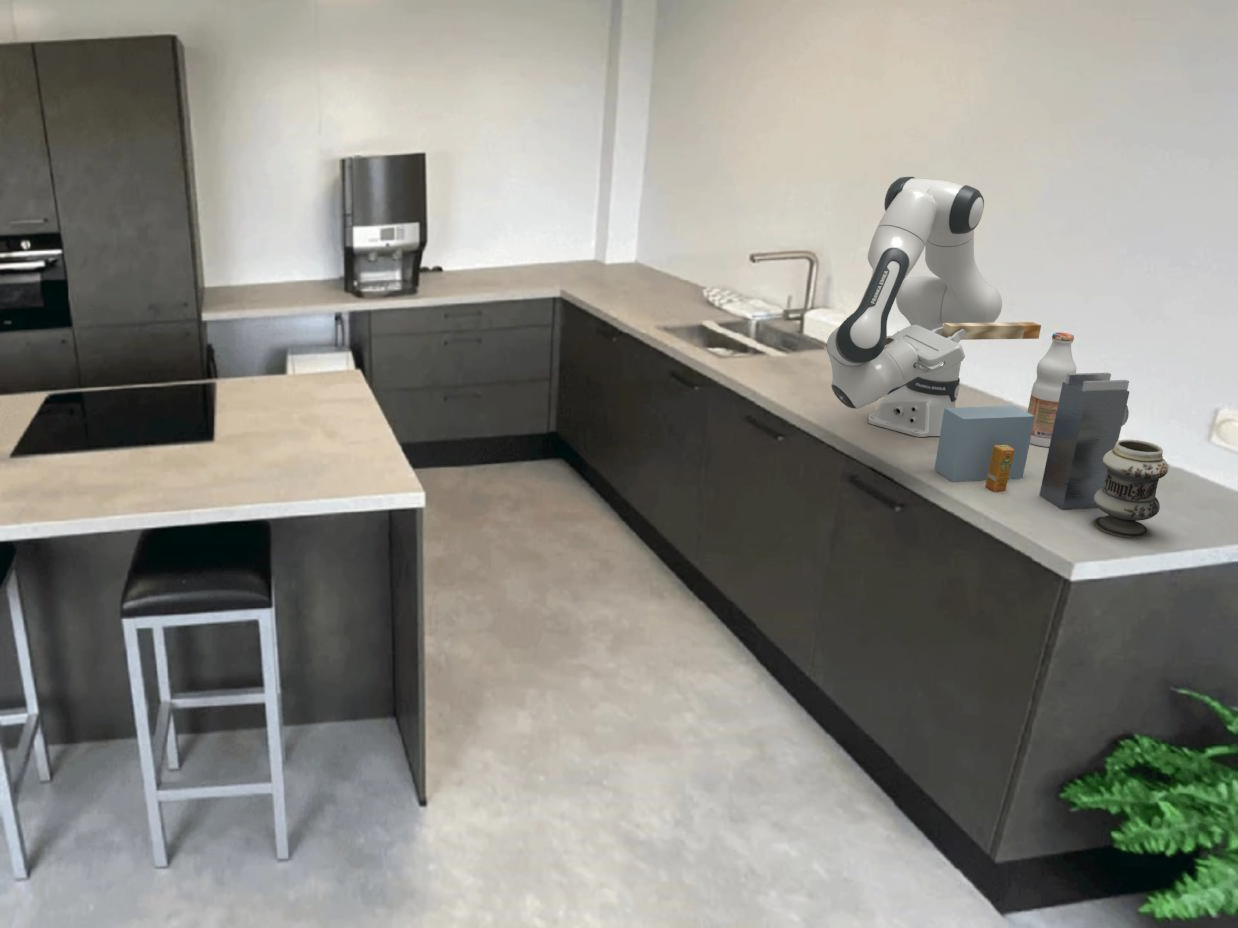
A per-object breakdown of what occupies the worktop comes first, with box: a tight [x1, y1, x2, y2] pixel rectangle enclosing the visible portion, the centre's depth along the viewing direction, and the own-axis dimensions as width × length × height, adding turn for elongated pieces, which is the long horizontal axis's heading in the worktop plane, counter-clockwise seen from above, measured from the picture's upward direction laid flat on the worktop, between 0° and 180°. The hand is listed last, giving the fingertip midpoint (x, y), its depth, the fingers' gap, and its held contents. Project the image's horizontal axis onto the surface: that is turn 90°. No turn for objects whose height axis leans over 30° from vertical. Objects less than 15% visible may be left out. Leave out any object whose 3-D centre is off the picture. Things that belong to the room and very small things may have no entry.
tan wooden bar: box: [942, 321, 1042, 341], centre depth 216 cm, size 22×3×3 cm, turn 103°
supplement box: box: [985, 445, 1015, 492], centre depth 219 cm, size 3×3×10 cm
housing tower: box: [1039, 372, 1130, 511], centre depth 211 cm, size 12×8×28 cm, turn 103°
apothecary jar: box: [1094, 439, 1169, 539], centre depth 200 cm, size 12×12×18 cm
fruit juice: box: [1027, 332, 1077, 448], centre depth 248 cm, size 9×9×28 cm
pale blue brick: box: [934, 405, 1035, 483], centre depth 226 cm, size 18×8×15 cm, turn 103°
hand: (958, 329), depth 214 cm, fingers closed on tan wooden bar, 3 cm apart
